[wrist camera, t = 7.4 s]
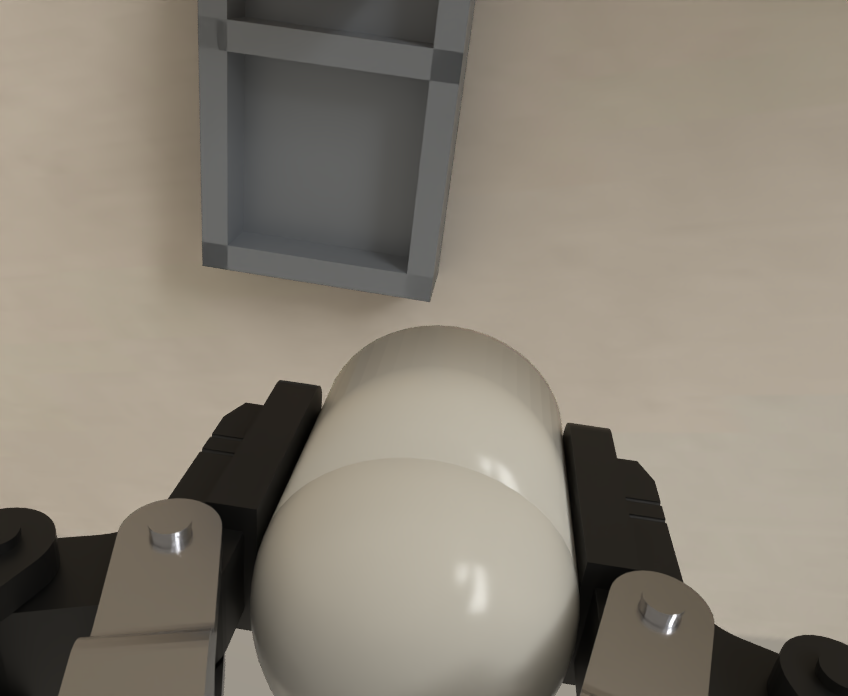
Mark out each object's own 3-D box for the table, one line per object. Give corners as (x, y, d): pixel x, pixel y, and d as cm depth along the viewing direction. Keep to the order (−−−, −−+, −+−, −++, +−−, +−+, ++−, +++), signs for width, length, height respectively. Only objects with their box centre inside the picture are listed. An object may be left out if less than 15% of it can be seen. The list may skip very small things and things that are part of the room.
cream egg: (329, 309, 13) (188, 555, 7) (584, 344, 13) (638, 626, 7) (319, 510, 15) (203, 825, 9) (539, 543, 15) (555, 886, 9)
